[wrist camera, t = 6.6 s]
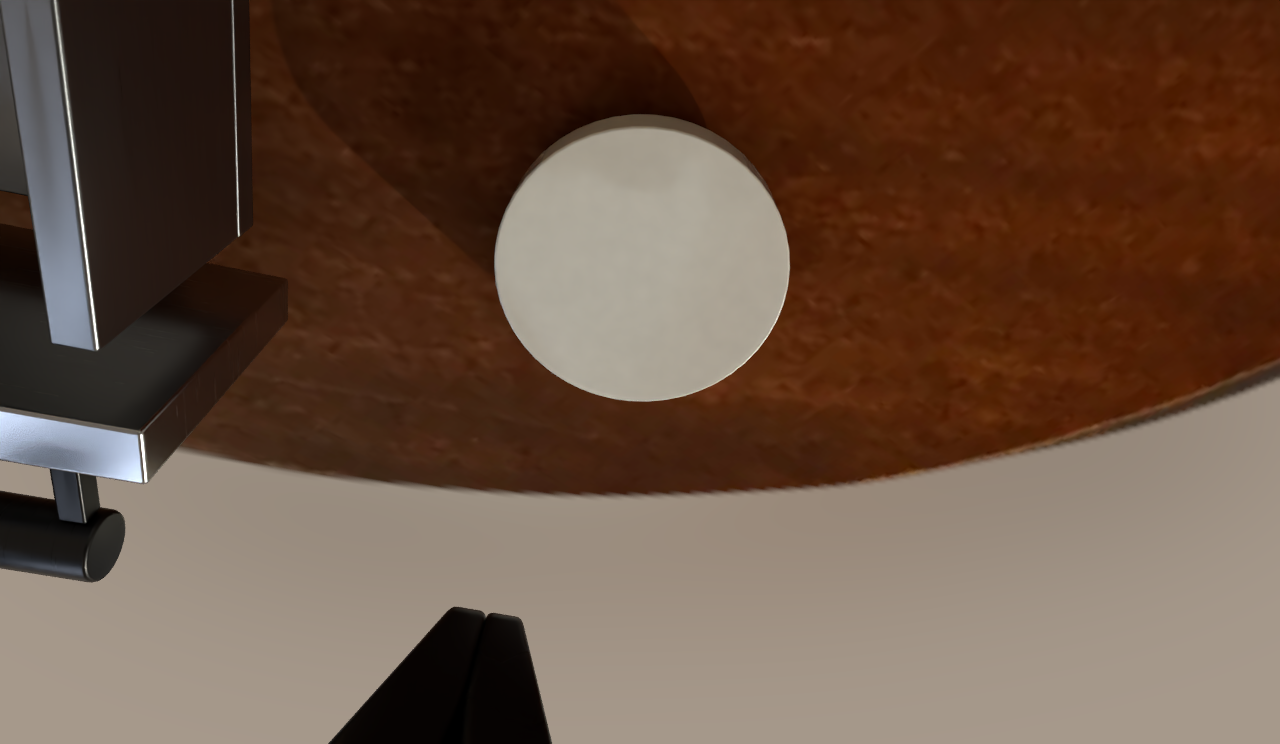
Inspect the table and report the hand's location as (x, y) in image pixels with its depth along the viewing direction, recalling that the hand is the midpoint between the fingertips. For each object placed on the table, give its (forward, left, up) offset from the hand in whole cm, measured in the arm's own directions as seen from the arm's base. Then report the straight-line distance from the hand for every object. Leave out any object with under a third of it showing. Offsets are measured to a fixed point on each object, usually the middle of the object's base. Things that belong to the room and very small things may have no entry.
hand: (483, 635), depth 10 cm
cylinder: (0, -2, -13) cm, 13 cm away
